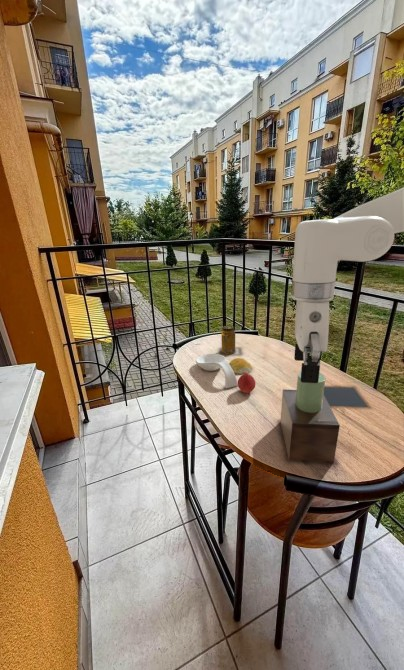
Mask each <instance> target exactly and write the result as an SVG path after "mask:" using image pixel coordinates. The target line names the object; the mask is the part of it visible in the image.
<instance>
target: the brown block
mask: <svg viewBox="0 0 404 670" xmlns="http://www.w3.org/2000/svg"><path fill="white" fill-rule="evenodd" d="M296 390H297V389H282V395H281V409H280V421H279V423H280V426H281V431H282V436H283V440H284V445H285V449H286V452H287V459H288V461H299V462H300V461H302V462H303V461H304V462H318V463H332V464H333V463H335V459H336V458H335V457H336V451H337V445H338V439H339V433H340V427H341V424H340V423H339V421H338V419H337V417H336V415H335V413H334V411H333V409H332V408H331V407H332V406H330V405H329V404H328V402H327V400H326V398H325V396H324V394H323V402H322V409H321V410H320V411H319V412H315V413H309V412H304V411H302V410H300V409H298V408H297V407H296V405H295V401H296Z"/></svg>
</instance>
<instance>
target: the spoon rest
mask: <svg viewBox="0 0 404 670" xmlns="http://www.w3.org/2000/svg"><path fill="white" fill-rule="evenodd" d="M195 363H196V364H197V366H198V367H200V368H201V369H202V370H204V371H210V372H214V371H217V370H219V369H222V371H223V374H224V380H225V381H224V385H225V386H224V387H225V389H231V388H234V387H238V379H237V376H236V373H234V372H233V370H232V368H231V366H230V365H229V363H230V362H229V361H228V360H227V358H226V357H225V356H224V355H223V354H218V353H208V354H202V355H200V356H198V357H196V358H195Z"/></svg>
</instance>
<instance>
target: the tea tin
mask: <svg viewBox="0 0 404 670" xmlns="http://www.w3.org/2000/svg"><path fill="white" fill-rule="evenodd" d="M325 385H326V376H325V374H323V373H321V372H320V371H319V380H318V383H302V382H301V371H299V372H298V373H297V380H296V389H295V390H296V401H295V405H296V407H297V408H298V409H300V410H302V411H304V412H309V413H315V412H319V411H320V410H321V409H322V402H323V394H324V387H326V386H325Z"/></svg>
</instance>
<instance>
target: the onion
mask: <svg viewBox="0 0 404 670" xmlns="http://www.w3.org/2000/svg"><path fill="white" fill-rule="evenodd" d="M237 383H238V385H237V387H238V389H239V390H240V392H242V393H244V394H249V393H251V392H253V391H254V390H255V388H256V380H255V378H254V377H253V376H252V375H251V374H249V372H246V373H242V374H241V375H240V376H239V378H238V379H237Z"/></svg>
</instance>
